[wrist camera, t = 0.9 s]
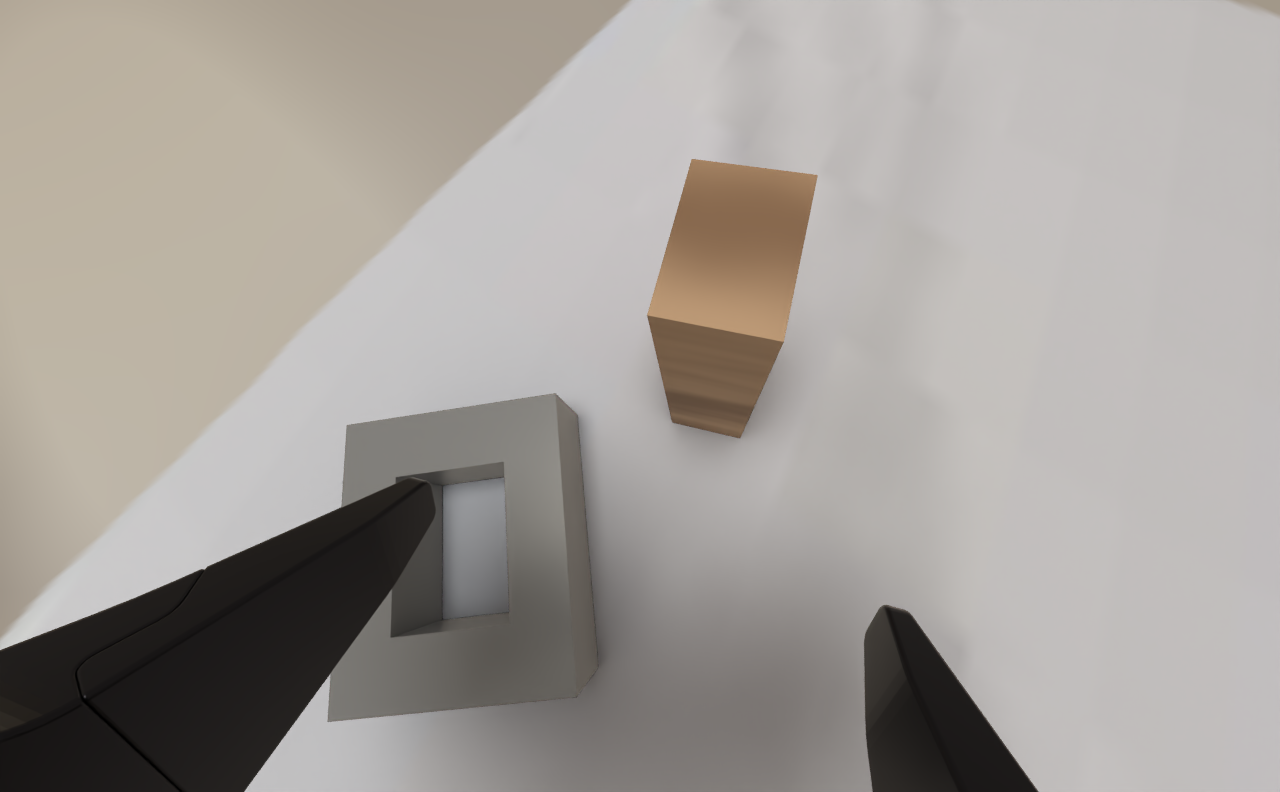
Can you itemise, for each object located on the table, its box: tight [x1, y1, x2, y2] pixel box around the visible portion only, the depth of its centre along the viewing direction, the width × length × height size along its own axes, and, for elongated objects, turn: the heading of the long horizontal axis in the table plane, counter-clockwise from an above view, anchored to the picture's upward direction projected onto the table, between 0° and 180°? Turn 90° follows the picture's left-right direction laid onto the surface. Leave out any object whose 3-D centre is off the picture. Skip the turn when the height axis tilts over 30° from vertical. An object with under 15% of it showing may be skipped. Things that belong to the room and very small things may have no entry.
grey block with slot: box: [328, 393, 598, 722], centre depth 22 cm, size 12×10×4 cm
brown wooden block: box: [647, 159, 818, 438], centre depth 18 cm, size 5×4×12 cm
